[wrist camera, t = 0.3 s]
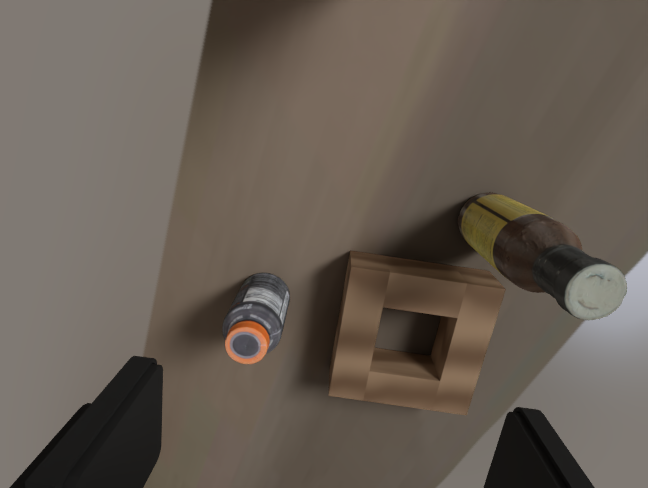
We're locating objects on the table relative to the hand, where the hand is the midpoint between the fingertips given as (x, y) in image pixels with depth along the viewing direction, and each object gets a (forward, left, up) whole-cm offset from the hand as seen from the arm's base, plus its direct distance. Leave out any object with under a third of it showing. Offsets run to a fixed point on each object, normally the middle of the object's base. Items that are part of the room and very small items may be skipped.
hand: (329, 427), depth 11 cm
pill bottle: (+14, -6, -36) cm, 39 cm away
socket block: (+15, +11, -35) cm, 40 cm away
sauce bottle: (+1, +17, -36) cm, 39 cm away
